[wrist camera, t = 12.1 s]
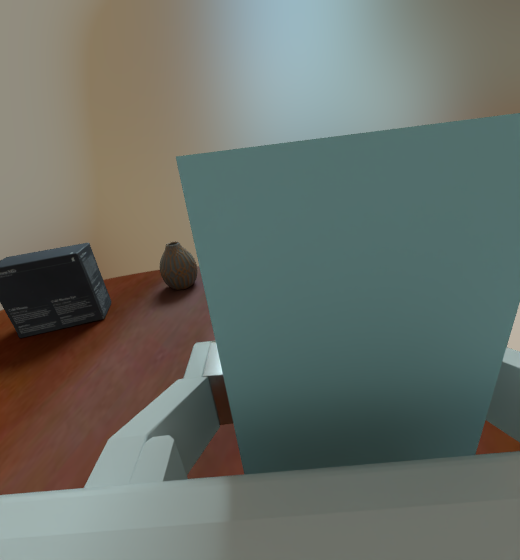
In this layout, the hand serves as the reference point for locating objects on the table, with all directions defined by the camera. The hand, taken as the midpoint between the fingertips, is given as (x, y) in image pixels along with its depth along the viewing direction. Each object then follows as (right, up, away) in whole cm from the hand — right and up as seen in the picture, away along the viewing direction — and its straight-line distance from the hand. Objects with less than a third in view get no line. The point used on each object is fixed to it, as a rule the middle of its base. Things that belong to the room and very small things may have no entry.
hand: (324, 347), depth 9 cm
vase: (-17, +1, +49) cm, 52 cm away
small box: (-35, -5, +42) cm, 55 cm away
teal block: (+1, -8, +2) cm, 8 cm away
